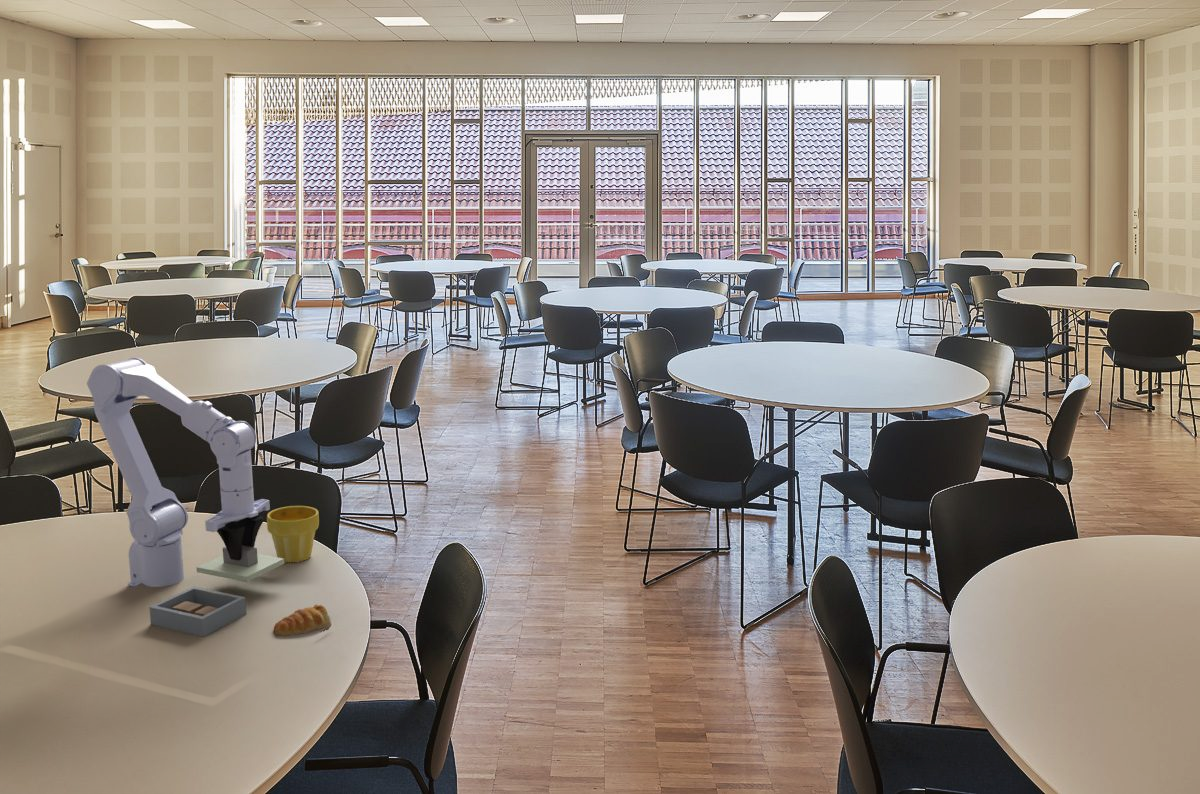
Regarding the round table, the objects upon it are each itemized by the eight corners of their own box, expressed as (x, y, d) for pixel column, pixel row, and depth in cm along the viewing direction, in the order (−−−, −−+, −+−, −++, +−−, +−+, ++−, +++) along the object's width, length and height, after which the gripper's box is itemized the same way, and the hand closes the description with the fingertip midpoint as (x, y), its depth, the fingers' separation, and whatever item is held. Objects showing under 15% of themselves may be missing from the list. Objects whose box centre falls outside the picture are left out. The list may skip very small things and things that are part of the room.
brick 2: (195, 622, 167) (194, 612, 166) (208, 616, 170) (207, 605, 169) (212, 627, 165) (212, 616, 165) (225, 620, 168) (225, 609, 168)
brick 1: (172, 617, 169) (172, 607, 168) (186, 611, 172) (185, 600, 171) (190, 621, 167) (189, 611, 167) (203, 615, 170) (202, 604, 170)
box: (151, 628, 166) (149, 606, 166) (195, 606, 175) (193, 586, 175) (204, 641, 162) (202, 618, 161) (246, 618, 171) (245, 597, 170)
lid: (197, 575, 179) (195, 551, 179) (236, 557, 188) (234, 535, 188) (247, 584, 175) (245, 561, 174) (284, 566, 184) (283, 543, 183)
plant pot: (329, 558, 200) (327, 513, 199) (283, 570, 193) (280, 524, 191) (306, 545, 208) (304, 502, 206) (260, 556, 201) (257, 512, 199)
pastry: (283, 645, 161) (282, 624, 160) (266, 633, 166) (265, 612, 165) (335, 630, 167) (333, 609, 166) (317, 618, 172) (316, 598, 171)
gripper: (224, 500, 170) (229, 572, 173) (280, 480, 183) (284, 547, 186) (194, 496, 173) (199, 567, 176) (251, 475, 186) (256, 542, 189)
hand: (241, 556), depth 181 cm, fingers closed on lid, 2 cm apart
